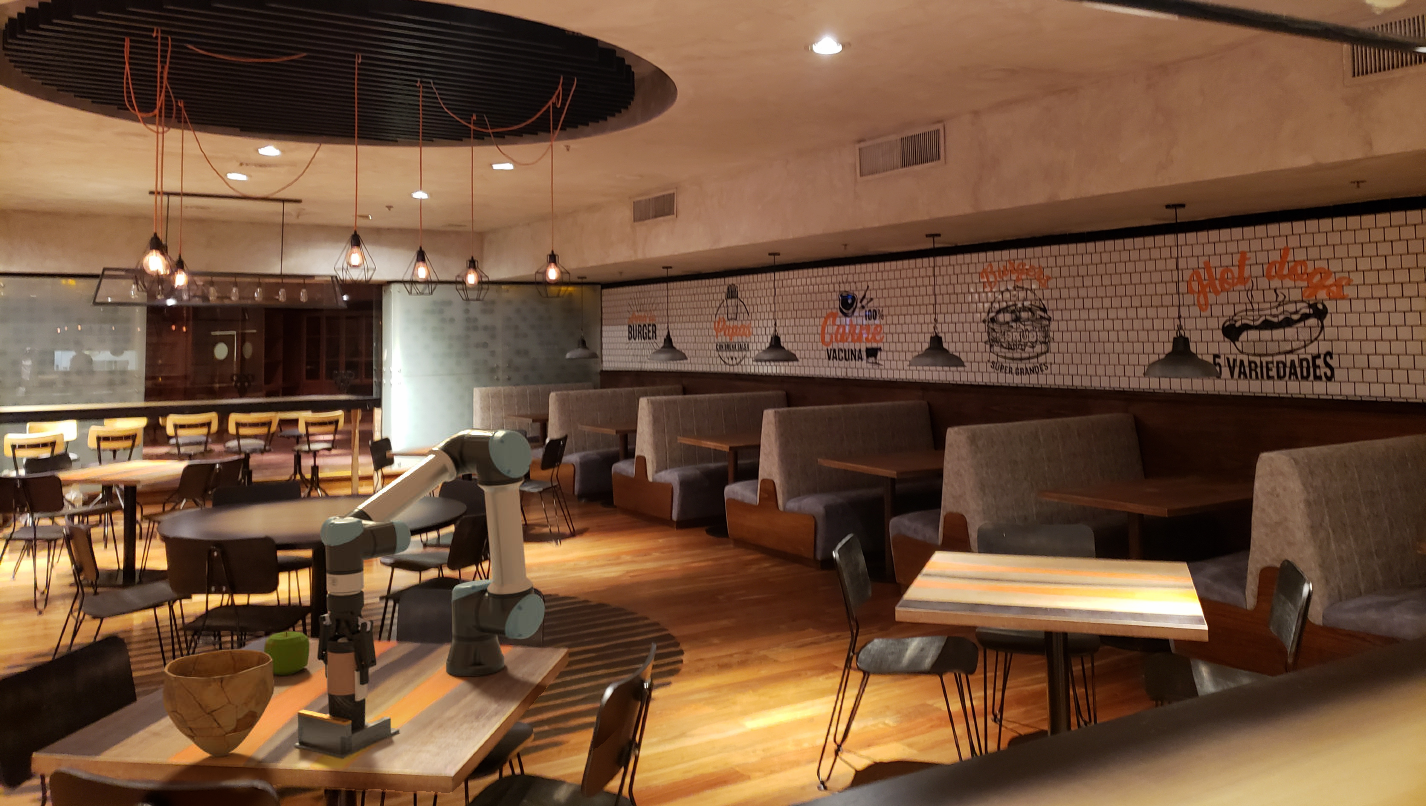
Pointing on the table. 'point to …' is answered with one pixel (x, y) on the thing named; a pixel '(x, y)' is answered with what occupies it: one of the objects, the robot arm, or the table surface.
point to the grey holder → (339, 734)
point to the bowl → (218, 696)
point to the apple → (287, 652)
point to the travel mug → (344, 682)
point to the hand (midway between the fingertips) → (347, 695)
